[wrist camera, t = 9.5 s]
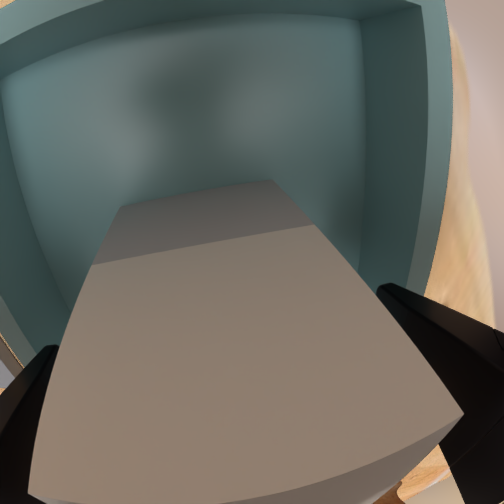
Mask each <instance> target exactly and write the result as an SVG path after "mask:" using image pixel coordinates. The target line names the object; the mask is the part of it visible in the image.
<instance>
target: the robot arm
mask: <svg viewBox="0 0 504 504" xmlns="http://www.w3.org/2000/svg"><path fill="white" fill-rule="evenodd" d="M376 296H377V298H378V299H379V300H380V301H381V303H382V304H383V305H384V306H385V307H386V309H387V310H388V311H389V312H390V314H391V315H392V316H393V317H394V319H395V320H396V321H397V323H398V324H399V325H400V326H401V328H402V329H403V330H404V331H405V333H406V334H407V335H408V337H409V338H410V339H411V341H412V342H413V343H414V345H415V346H416V347H417V348H418V350H419V351H420V352H421V354H422V355H423V356H424V358H425V359H426V360H427V362H428V363H429V365H430V366H431V367H432V369H433V370H434V371H435V373H436V374H437V376H438V377H439V378H440V380H441V381H442V383H443V384H444V385H445V387H446V388H447V390H448V391H449V392H450V394H451V395H452V397H453V398H454V400H455V401H456V403H457V404H458V405H459V407H460V408H461V410H462V411H463V413H464V415H463V416H462V417H461V418H460V420H459V421H458V422H457V423H456V424H455V426H454V427H453V428H452V429H451V430H450V431H449V432H448V434H447V435H446V436H445V437H444V438H443V439H442V440H441V441H440V442H439V443H438V444H439V446H440V448H441V451H442V453H443V455H444V457H445V459H446V461H447V463H448V466H449V467H450V470H451V473H452V475H453V477H454V479H455V482H456V484H457V486H458V488H459V491H460V493H461V495H462V498H463V500H464V502H465V504H499V503H501V502H502V501H504V333H503V332H501V331H498V330H496V329H493V328H492V327H490V326H488V325H486V324H483V323H481V322H479V321H477V320H475V319H473V318H470V317H468V316H466V315H464V314H462V313H459V312H457V311H455V310H453V309H451V308H448V307H446V306H444V305H442V304H440V303H437V302H435V301H433V300H431V299H428V298H426V297H424V296H422V295H419V294H417V293H415V292H413V291H410V290H408V289H406V288H403V287H401V286H399V285H397V284H394V283H391V282H389V283H385V284H382V285H379V286H378V288H377V290H376ZM59 348H60V346H59V345H57V344H53V345H46V346H44V347H43V348H42V349H41V351H40V352H39V353H38V354H37V355H36V356H35V357H34V358H33V359H32V360H31V361H30V362H29V363H28V364H27V366H26V367H25V368H24V369H23V370H22V371H21V372H20V373H19V374H18V375H17V376H16V378H15V379H14V380H13V381H12V382H11V383H10V384H9V386H8V387H7V388H6V389H5V390H4V391H3V392H2V394H1V395H0V504H47V503H45V502H43V501H41V500H39V499H37V498H35V497H34V496H32V495H30V494H28V486H29V478H30V470H31V463H32V457H33V451H34V445H35V440H36V434H37V429H38V425H39V420H40V416H41V411H42V407H43V403H44V399H45V395H46V391H47V388H48V384H49V380H50V377H51V373H52V370H53V367H54V363H55V360H56V357H57V354H58V351H59ZM503 504H504V503H503Z"/></svg>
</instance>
